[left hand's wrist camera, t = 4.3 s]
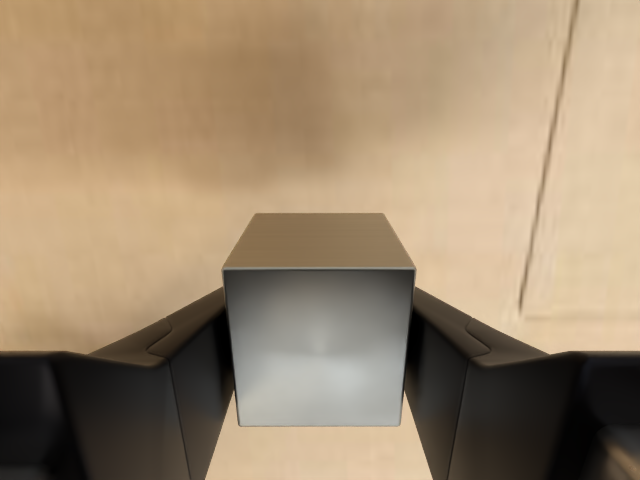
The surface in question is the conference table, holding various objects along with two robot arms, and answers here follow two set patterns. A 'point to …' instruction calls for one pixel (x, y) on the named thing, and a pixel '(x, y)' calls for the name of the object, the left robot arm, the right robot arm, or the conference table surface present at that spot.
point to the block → (319, 320)
